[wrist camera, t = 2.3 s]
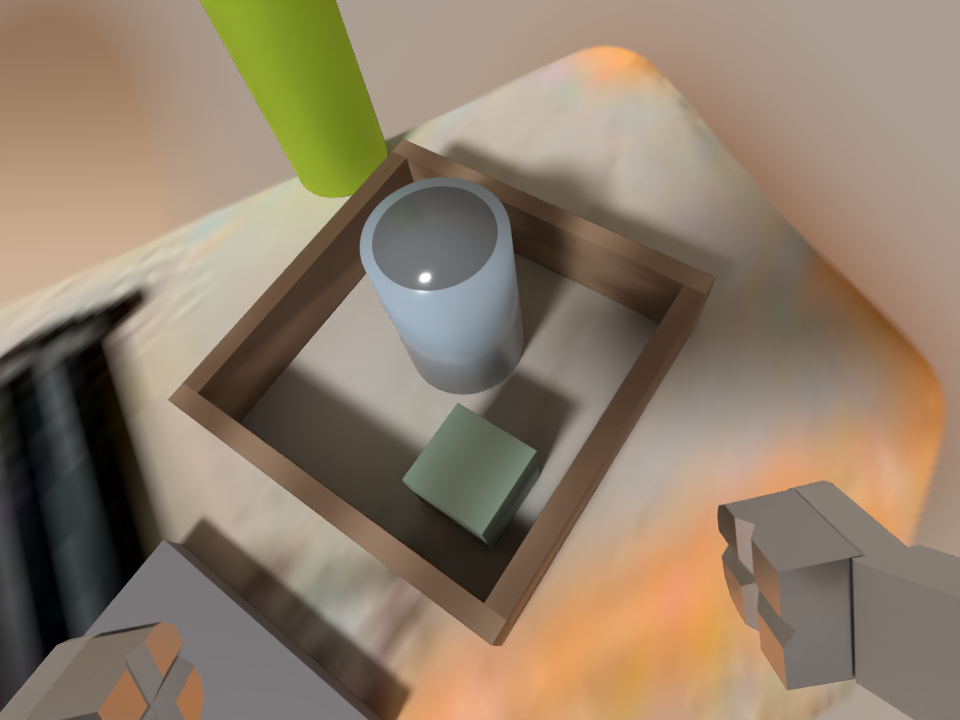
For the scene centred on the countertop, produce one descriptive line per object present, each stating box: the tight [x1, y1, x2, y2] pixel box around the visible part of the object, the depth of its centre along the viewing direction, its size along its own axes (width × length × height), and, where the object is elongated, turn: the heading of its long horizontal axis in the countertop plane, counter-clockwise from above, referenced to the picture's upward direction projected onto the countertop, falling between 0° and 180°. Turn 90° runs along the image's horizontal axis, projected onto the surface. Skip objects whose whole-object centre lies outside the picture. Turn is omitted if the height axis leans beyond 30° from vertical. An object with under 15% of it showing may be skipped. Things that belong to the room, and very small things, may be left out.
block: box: [402, 403, 540, 549], centre depth 27 cm, size 4×4×4 cm
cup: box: [360, 177, 524, 394], centre depth 28 cm, size 6×6×9 cm
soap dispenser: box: [200, 0, 388, 197], centre depth 29 cm, size 6×7×20 cm
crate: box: [168, 139, 715, 646], centre depth 29 cm, size 18×18×4 cm
